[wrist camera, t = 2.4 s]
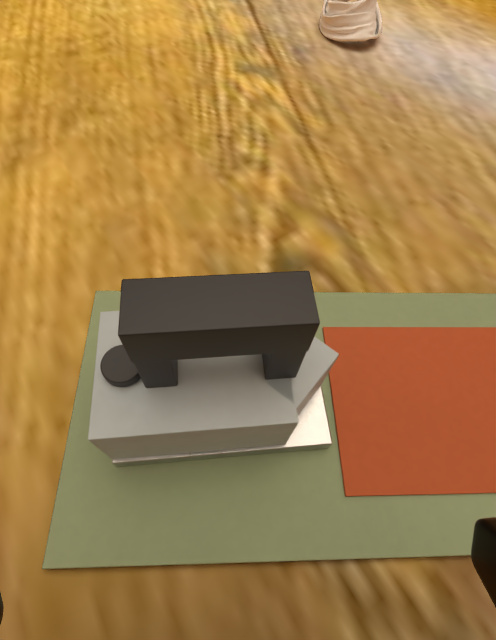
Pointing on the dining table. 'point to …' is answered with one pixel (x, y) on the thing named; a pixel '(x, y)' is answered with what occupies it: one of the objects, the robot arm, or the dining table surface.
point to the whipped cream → (351, 20)
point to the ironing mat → (312, 454)
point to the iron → (210, 369)
